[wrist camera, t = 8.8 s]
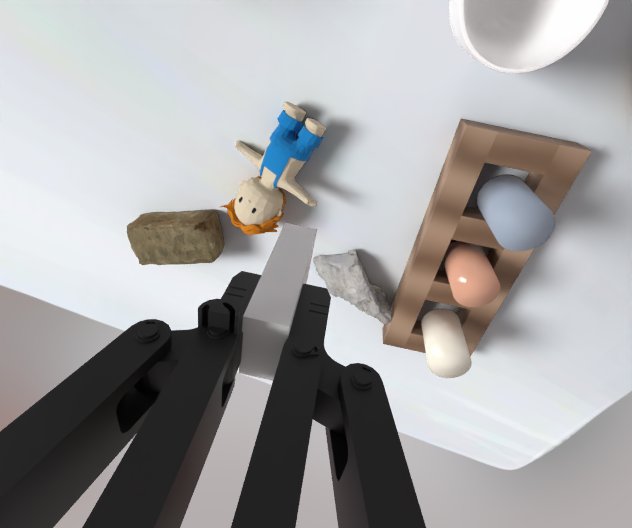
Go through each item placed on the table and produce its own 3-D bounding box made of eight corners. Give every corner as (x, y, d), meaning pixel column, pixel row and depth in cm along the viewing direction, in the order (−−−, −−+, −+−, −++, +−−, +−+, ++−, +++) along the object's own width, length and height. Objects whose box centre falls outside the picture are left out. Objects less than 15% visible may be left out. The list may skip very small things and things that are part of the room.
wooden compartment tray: (460, 118, 38) (466, 125, 35) (577, 142, 37) (591, 151, 35) (382, 329, 54) (383, 343, 52) (462, 346, 54) (467, 362, 52)
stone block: (230, 245, 50) (217, 265, 46) (154, 248, 52) (135, 268, 48) (218, 205, 47) (203, 223, 43) (138, 211, 49) (116, 228, 45)
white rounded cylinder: (428, 305, 47) (436, 344, 41) (465, 313, 47) (478, 354, 41) (416, 332, 50) (422, 372, 44) (451, 339, 49) (461, 381, 44)
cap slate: (488, 170, 37) (510, 197, 31) (536, 179, 37) (566, 209, 31) (469, 212, 40) (486, 245, 34) (513, 222, 39) (537, 256, 34)
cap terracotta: (451, 235, 44) (462, 267, 38) (490, 243, 44) (508, 276, 38) (437, 267, 47) (445, 302, 41) (474, 275, 47) (488, 311, 41)
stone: (354, 319, 55) (353, 339, 51) (309, 258, 49) (305, 276, 46) (394, 303, 52) (396, 323, 49) (351, 238, 47) (350, 255, 44)
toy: (343, 148, 34) (268, 266, 41) (361, 150, 40) (293, 254, 46) (250, 78, 36) (192, 201, 43) (279, 88, 42) (224, 196, 48)
